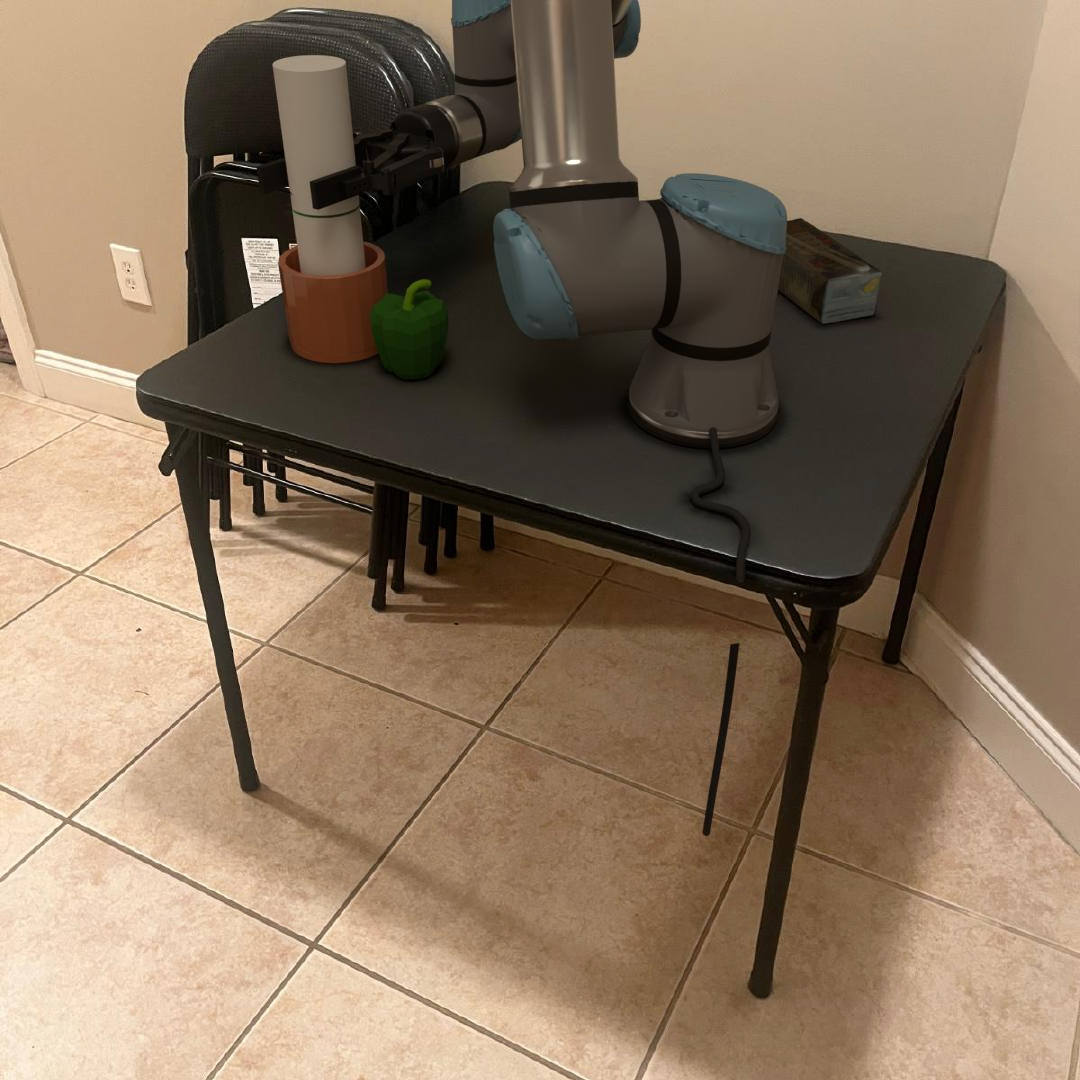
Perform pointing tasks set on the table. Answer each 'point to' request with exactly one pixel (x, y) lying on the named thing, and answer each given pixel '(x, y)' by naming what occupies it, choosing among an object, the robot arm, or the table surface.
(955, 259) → the table surface
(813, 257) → the beverage carton
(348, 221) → the cylindrical container
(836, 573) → the table surface
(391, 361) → the bell pepper
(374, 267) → the crock
